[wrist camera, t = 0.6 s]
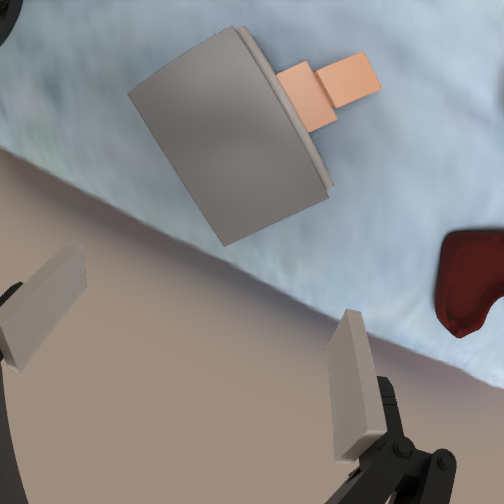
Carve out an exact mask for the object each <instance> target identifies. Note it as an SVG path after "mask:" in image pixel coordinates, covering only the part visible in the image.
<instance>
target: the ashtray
mask: <svg viewBox="0 0 504 504" xmlns="http://www.w3.org/2000/svg"><path fill="white" fill-rule="evenodd" d="M503 296H504V232H471V231H463V232H455V233H453V234H451V235H449V236H448V237H447V238H446V240H445V242H444V244H443V249H442V253H441V262H440V271H439V279H438V287H437V292H436V297H435V312H436V315H437V318H438V319H439V321H440V322H441V324H442V325H443V326H444V327H445V328H446V329H447V330H448V331H449V332H450V333H451V334H452V335H454V336H455V337H456V338H463V337H465V336H466V335H468V334H470V333H472V332H475V331H477V330H479V329H480V328H481V327H482V326H483V324H484V322H485V319H486V316H487V314H488V312H489V310H490V308H491V306H492V305H493V304H494V302H496V301H497V300H498V299H499V298H501V297H503Z"/></svg>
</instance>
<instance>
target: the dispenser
mask: <svg viewBox="0 0 504 504" xmlns="http://www.w3.org/2000/svg"><path fill="white" fill-rule="evenodd" d="M127 94H128V96H129V97H130V99H131V101H132V102H133V104H134V106H135V107H136V109H137V111H138V112H139V114H140V115H141V117H142V119H143V120H144V122H145V123H146V125H147V127H148V128H149V130H150V132H151V133H152V135H153V136H154V138H155V140H156V141H157V143H158V144H159V146H160V148H161V149H162V151H163V152H164V154H165V156H166V157H167V159H168V160H169V162H170V163H171V165H172V167H173V168H174V170H175V171H176V173H177V175H178V176H179V178H180V179H181V181H182V182H183V184H184V186H185V187H186V189H187V190H188V192H189V193H190V195H191V197H192V198H193V200H194V201H195V203H196V204H197V206H198V207H199V209H200V211H201V212H202V214H203V215H204V217H205V218H206V220H207V221H208V223H209V225H210V226H211V228H212V229H213V231H214V232H215V234H216V235H217V237H218V238H219V240H220V242H221V243H222V245H223V246H224V247H225V246H227V245H229V244H231V243H233V242H235V241H238V240H240V239H242V238H244V237H246V236H248V235H250V234H252V233H255V232H257V231H259V230H261V229H263V228H265V227H267V226H270V225H272V224H274V223H276V222H278V221H280V220H282V219H285V218H287V217H289V216H291V215H293V214H295V213H298V212H300V211H302V210H304V209H306V208H308V207H311V206H313V205H315V204H317V203H319V202H321V201H324V200H326V199H328V198H329V197H328V194H327V191H326V190H328V189H331V188H332V187H333V186H334V184H333V182H332V180H331V178H330V176H329V174H328V172H327V169H326V167H325V165H324V163H323V161H322V159H321V157H320V155H319V153H318V151H317V149H316V147H315V145H314V144H313V142H312V140H311V138H310V136H309V134H308V132H307V130H306V128H305V126H304V124H303V123H302V121H301V119H300V117H299V115H298V113H297V112H296V110H295V108H294V106H293V104H292V102H291V101H290V99H289V97H288V95H287V94H286V92H285V90H284V88H283V87H282V85H281V83H280V81H279V80H278V78H277V76H276V75H275V73H274V71H273V70H272V68H271V66H270V65H269V63H268V61H267V60H266V58H265V56H264V55H263V53H262V52H261V50H260V48H259V47H258V45H257V44H256V42H255V41H254V39H253V37H252V36H251V34H250V33H249V31H248V30H247V28H246V27H245V26H243V27H240V28H238V29H237V30H235V29H234V27H233V26H232V25H231V26H230V27H228V28H226V29H224V30H222V31H220V32H219V33H217V34H215V35H213V36H212V37H210V38H208V39H207V40H205V41H203V42H202V43H200V44H198V45H197V46H195V47H193V48H192V49H190V50H188V51H187V52H185V53H184V54H182V55H181V56H179V57H178V58H176V59H175V60H173V61H172V62H170V63H169V64H167V65H166V66H164V67H163V68H161V69H160V70H158V71H157V72H156V73H154V74H153V75H151V76H150V77H149V78H147V79H146V80H144V81H143V82H142V83H140V84H139V85H138V86H136V87H135V88H134V89H132V90H131V91H130V92H129V93H127Z"/></svg>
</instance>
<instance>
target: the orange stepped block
mask: <svg viewBox="0 0 504 504" xmlns="http://www.w3.org/2000/svg"><path fill="white" fill-rule="evenodd" d="M276 76H277V78H278V80H279V81H280V83H281V85H282V87H283V88H284V90H285V92H286V94H287V95H288V97H289V99H290V101H291V102H292V104H293V106H294V108H295V110H296V112H297V113H298V115H299V117H300V119H301V121H302V123H303V124H304V126H305V128H306V130H307V132H308V133H310V132H312V131H314V130H316V129H318V128H320V127H322V126H324V125H327V124H329V123H331V122H333V121H335V120H338V119H337V117H336V115H335V113H334V111H333V109H332V107H334V108H339V107H341V106H343V105H345V104H348V103H350V102H352V101H355V100H357V99H359V98H362V97H364V96H366V95H369V94H371V93H374V92H376V91H378V90H381V89H382V87H381V85H380V83H379V81H378V79H377V77H376V75H375V73H374V71H373V69H372V67H371V65H370V63H369V61H368V59H367V57H366V55H365V53H364V52H360V53H358V54H355V55H353V56H350V57H348V58H345V59H343V60H340V61H338V62H336V63H333V64H331V65H329V66H326V67H324V68H322V69H319V70H317V71H315V72H314V73H313V72H312V70H311V68H310V66H309V65H308V63H307V61H304V62H302V63H299V64H297V65H295V66H293V67H291V68H289V69H287V70H285V71H282V72H280V73H278V74H276Z"/></svg>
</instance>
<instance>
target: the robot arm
mask: <svg viewBox="0 0 504 504" xmlns="http://www.w3.org/2000/svg"><path fill="white" fill-rule="evenodd" d="M21 4H22V0H0V45H1V44H2V43H3V42H4V40H5V39H6V38H7V36H8V35H9V33H10V31H11V29H12V28H13V26H14V24H15V21H16V19H17V17H18V14H19V11H20V8H21ZM86 288H87V281H86V270H85V254H84V243H82V242H79V241H75V240H71V241H70V242H69V243H67V244H66V245H65V246H64V247H63V248H62V249H61V250H59V251H58V252H57V253H56V254H55V255H54V256H53V257H52V258H50V259H49V260H48V261H47V262H46V263H45V264H44V265H43V266H42V267H41V268H40V269H38V270H37V271H36V272H35V273H34V274H33V275H32V276H31V277H30V278H29V279H28V280H27V281H26V282H25V283H22V282H19V283H17V284H15V285H13V286H11V287H10V288H9V289H8V290H7V291H6V292H5V293H4V295H2V296H1V297H0V362H1V361H2V359H3V358H4V359H5V361H6V363H7V366H8V367H9V368H11V369H13V370H15V371H17V372H18V373H21V372H22V370H23V369H24V368H25V366H26V365H27V363H28V362H29V361H30V359H31V358H32V356H33V355H34V354H35V352H36V351H37V350H38V348H39V347H40V346H41V344H42V343H43V342H44V340H45V339H46V338H47V336H48V335H49V334H50V332H51V331H52V330H53V329H54V327H55V326H56V325H57V323H58V322H59V321H60V320H61V318H62V317H63V316H64V315H65V313H66V312H67V311H68V310H69V308H70V307H71V305H73V303H74V302H75V301H76V300H77V298H78V297H79V296H80V295H81V294H82V293H83V291H84V290H85V289H86ZM326 351H327V361H328V372H329V383H330V396H331V410H332V424H333V441H334V462H335V463H347V464H352V463H353V462H354V461H356V460H357V459H358V458H359V463H360V466H359V467H357V468H356V469H355V470H354V471H353V472H351V473H350V474H349V475H348V476H350V477H349V478H348V479H347V480H346V481H345V482H344V483H343V484H342V486H341V487H340V488H339V489H338V490H337V491H336V492H335V493H334V494H333V495H332V496H331V498H330V499H329V500H328V501H327V502H326V503H325V504H385V502H386V501H387V499H388V498H389V497H390V495H391V494H392V495H391V498H390V500H389V503H388V504H449V502H450V497H451V493H452V488H453V483H454V478H455V473H456V467H457V466H456V459H455V456H454V455H453V454H452V453H451V452H450V451H448V450H447V449H438V450H436V451H435V452H434V453H433V454H430V453H427V452H424V451H421V450H418V449H416V448H415V446H414V444H413V442H412V441H411V440H410V439H409V438H407V437H405V436H404V433H403V428H402V424H401V419H400V415H399V410H398V407H397V401H396V399H395V393H394V389H393V386H392V384H391V383H390V381H389V380H388V378H387V377H381V376H376V372H375V367H374V363H373V359H372V355H371V350H370V346H369V342H368V338H367V334H366V330H365V326H364V322H363V318H362V314H361V312H359V311H355V310H350V309H346V311H345V313H344V315H343V317H342V319H341V321H340V323H339V325H338V327H337V329H336V331H335V333H334V335H333V337H332V339H331V341H330V343H329V344H328V346H327V348H326ZM0 504H28V501H27V498H26V494H25V491H24V488H23V484H22V481H21V477H20V474H19V470H18V466H17V462H16V458H15V453H14V449H13V445H12V440H11V435H10V429H9V423H8V417H7V411H6V403H5V395H4V386H3V375H2V367H1V363H0Z"/></svg>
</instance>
